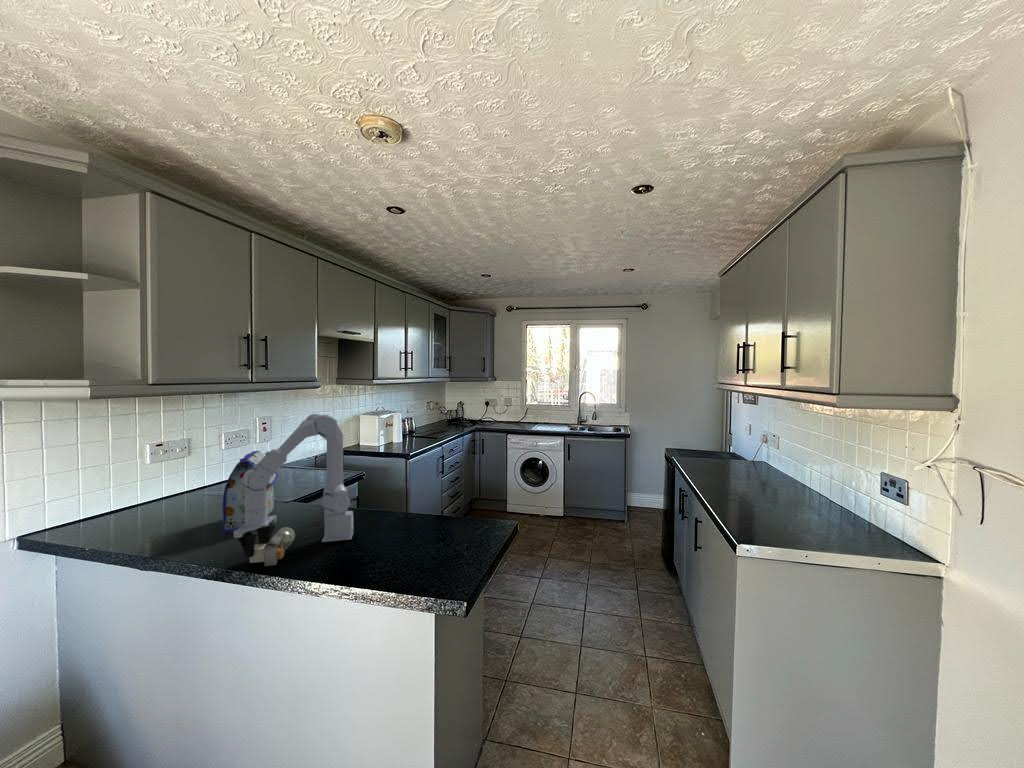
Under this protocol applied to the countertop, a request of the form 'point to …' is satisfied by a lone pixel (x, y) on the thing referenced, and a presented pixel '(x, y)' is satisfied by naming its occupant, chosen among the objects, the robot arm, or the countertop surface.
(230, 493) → the lunch bag
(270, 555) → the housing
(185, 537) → the countertop surface
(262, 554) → the plug
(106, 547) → the countertop surface
